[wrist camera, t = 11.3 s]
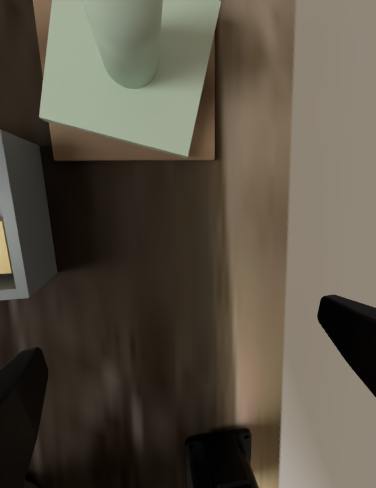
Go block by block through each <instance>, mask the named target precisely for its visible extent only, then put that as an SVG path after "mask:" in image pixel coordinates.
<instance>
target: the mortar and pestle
mask: <svg viewBox="0 0 376 488" xmlns="http://www.w3.org/2000/svg"><path fill="white" fill-rule="evenodd" d="M23 488H39V487H38V486H36V485H35V484H33V483H31V482H30V481H28V480H25V482H24V485H23Z"/></svg>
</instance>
